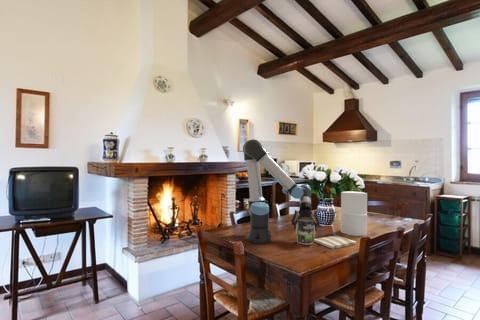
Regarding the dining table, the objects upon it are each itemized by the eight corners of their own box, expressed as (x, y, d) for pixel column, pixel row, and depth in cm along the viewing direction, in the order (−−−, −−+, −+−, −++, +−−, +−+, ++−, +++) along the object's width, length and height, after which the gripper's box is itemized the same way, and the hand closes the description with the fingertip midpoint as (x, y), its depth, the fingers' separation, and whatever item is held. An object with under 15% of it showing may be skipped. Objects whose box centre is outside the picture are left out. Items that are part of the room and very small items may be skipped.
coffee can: (316, 244, 179) (317, 221, 178) (301, 245, 176) (301, 222, 176) (308, 239, 189) (308, 217, 188) (293, 240, 186) (294, 218, 186)
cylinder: (339, 228, 218) (340, 191, 217) (364, 230, 213) (365, 191, 213) (341, 234, 201) (342, 194, 201) (368, 236, 197) (369, 195, 196)
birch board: (332, 248, 170) (332, 246, 170) (313, 241, 184) (313, 239, 184) (356, 244, 180) (356, 241, 180) (336, 237, 194) (336, 235, 194)
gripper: (322, 209, 195) (323, 239, 180) (288, 207, 199) (286, 236, 184) (323, 202, 189) (324, 232, 174) (288, 200, 194) (286, 230, 179)
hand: (305, 234), depth 179 cm, fingers closed on coffee can, 10 cm apart
